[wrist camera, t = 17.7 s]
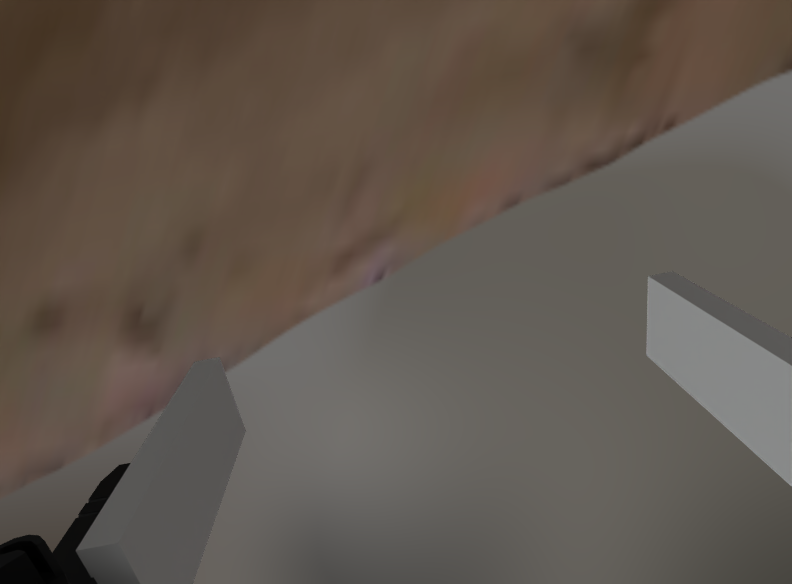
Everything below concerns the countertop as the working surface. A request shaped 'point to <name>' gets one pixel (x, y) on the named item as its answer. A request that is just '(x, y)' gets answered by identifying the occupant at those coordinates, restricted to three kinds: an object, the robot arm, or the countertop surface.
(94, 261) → the countertop surface
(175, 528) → the robot arm
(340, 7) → the countertop surface
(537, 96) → the countertop surface
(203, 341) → the countertop surface
